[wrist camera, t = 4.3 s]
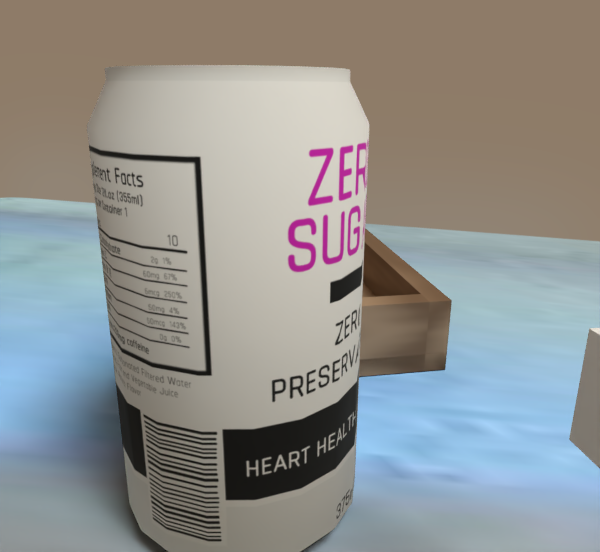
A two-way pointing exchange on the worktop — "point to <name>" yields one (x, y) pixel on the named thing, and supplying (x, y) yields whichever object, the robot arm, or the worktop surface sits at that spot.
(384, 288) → the walnut tray
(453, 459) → the worktop surface
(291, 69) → the supplement can
